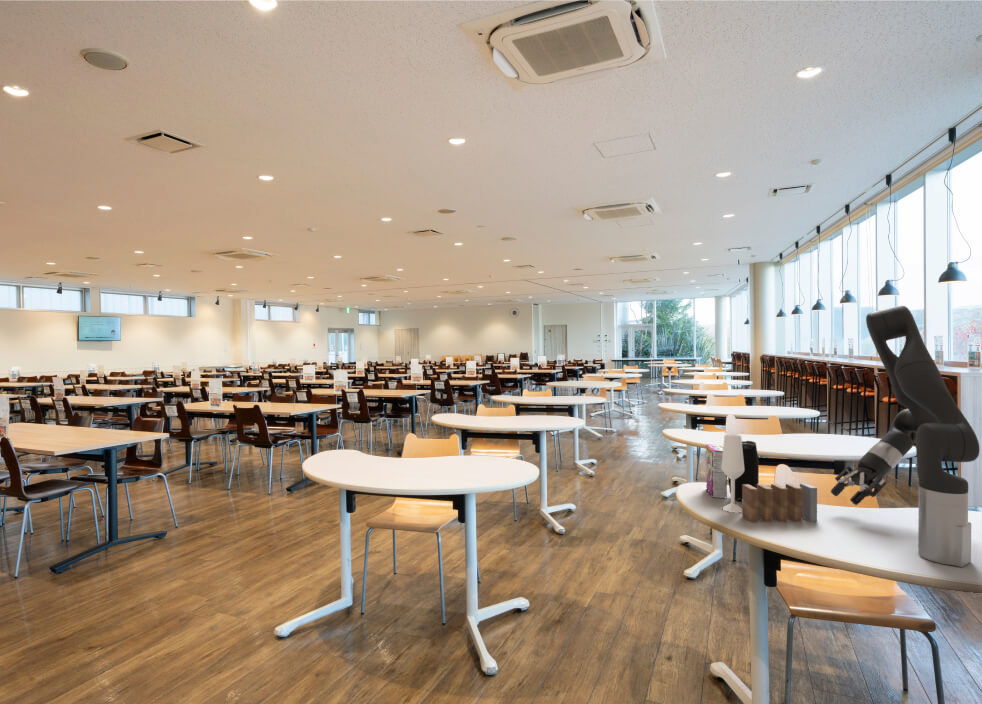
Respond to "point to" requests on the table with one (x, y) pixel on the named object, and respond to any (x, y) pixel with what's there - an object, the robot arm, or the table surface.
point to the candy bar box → (715, 471)
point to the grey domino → (809, 502)
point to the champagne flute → (732, 465)
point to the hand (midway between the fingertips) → (842, 498)
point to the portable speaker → (747, 469)
